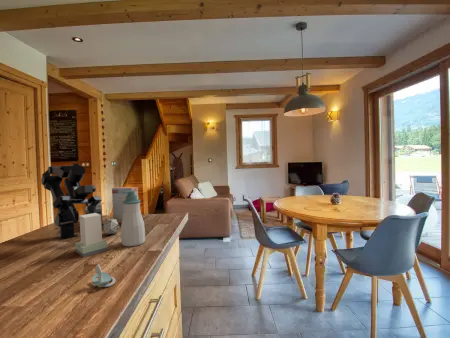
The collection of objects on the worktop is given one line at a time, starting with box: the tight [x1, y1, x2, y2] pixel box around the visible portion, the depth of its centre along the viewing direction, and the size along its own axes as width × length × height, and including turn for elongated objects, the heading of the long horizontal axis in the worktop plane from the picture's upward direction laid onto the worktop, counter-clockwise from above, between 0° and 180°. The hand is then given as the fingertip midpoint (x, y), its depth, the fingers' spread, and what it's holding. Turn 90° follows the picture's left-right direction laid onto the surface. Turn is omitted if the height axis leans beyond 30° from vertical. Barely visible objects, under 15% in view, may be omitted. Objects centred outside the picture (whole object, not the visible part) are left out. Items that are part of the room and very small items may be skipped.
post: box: [79, 213, 103, 246], centre depth 100 cm, size 6×6×11 cm
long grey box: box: [84, 201, 104, 226], centre depth 143 cm, size 25×8×11 cm, turn 27°
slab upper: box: [74, 238, 108, 254], centre depth 100 cm, size 9×9×2 cm
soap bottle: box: [120, 191, 146, 247], centre depth 108 cm, size 10×10×23 cm
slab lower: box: [75, 246, 109, 258], centre depth 100 cm, size 9×9×2 cm
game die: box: [101, 218, 121, 237], centre depth 122 cm, size 9×8×10 cm
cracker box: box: [111, 186, 139, 225], centre depth 143 cm, size 14×6×21 cm, turn 71°
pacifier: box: [91, 263, 116, 288], centre depth 73 cm, size 7×6×6 cm
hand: (84, 218), depth 107 cm, fingers open, 9 cm apart
